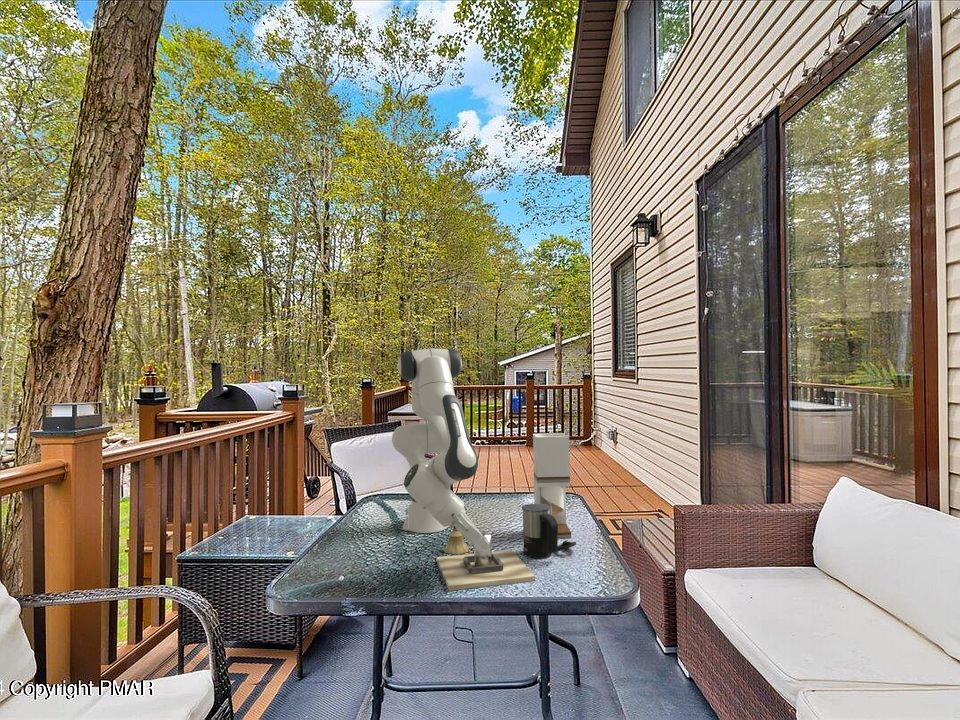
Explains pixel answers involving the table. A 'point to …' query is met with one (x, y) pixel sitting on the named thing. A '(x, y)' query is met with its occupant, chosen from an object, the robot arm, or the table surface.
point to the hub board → (483, 570)
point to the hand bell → (456, 543)
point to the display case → (552, 476)
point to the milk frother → (541, 532)
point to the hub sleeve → (483, 552)
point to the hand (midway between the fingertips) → (483, 541)
